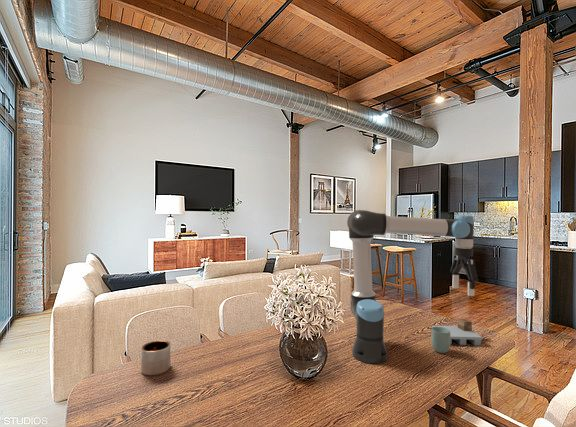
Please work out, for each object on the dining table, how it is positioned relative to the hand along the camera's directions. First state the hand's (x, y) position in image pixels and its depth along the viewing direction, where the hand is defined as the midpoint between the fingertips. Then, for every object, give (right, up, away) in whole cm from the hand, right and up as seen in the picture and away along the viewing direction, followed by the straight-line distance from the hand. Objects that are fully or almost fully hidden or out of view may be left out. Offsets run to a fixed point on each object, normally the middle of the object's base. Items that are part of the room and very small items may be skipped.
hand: (462, 291), depth 149 cm
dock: (+1, -26, +8) cm, 27 cm away
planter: (-137, -25, -24) cm, 141 cm away
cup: (-13, -26, -6) cm, 30 cm away
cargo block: (+7, -22, +11) cm, 25 cm away
